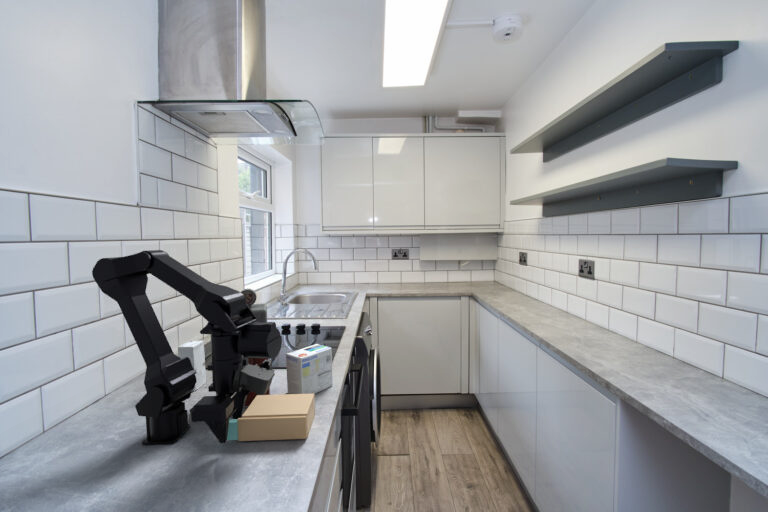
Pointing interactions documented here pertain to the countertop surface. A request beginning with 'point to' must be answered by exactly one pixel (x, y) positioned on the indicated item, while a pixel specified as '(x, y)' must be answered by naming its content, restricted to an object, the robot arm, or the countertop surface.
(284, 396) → the kraft carton
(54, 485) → the countertop surface
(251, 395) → the toy vending machine
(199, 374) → the skincare box
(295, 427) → the carton flap
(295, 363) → the light bulb box
